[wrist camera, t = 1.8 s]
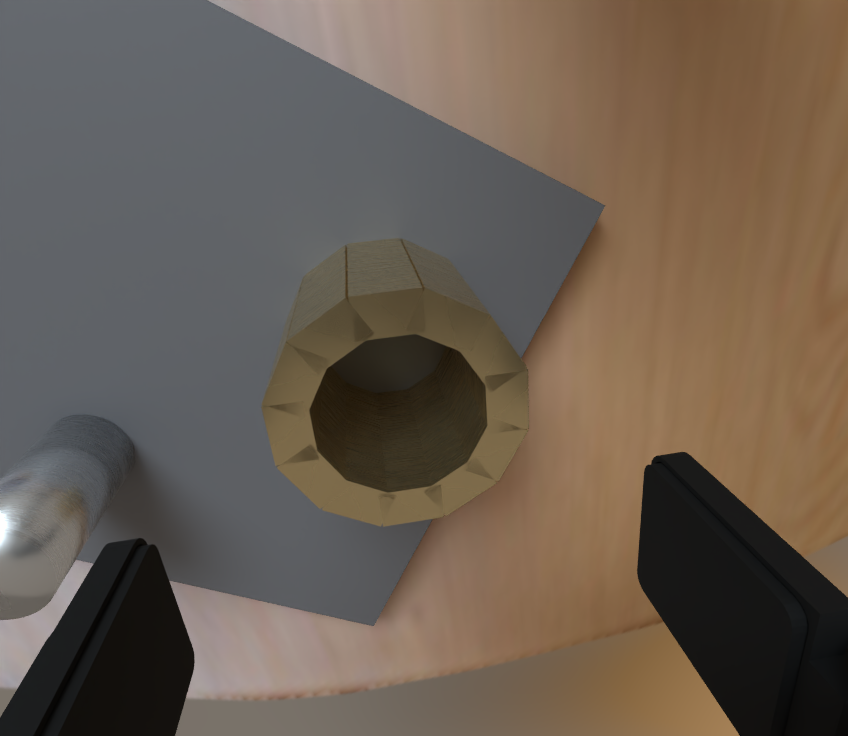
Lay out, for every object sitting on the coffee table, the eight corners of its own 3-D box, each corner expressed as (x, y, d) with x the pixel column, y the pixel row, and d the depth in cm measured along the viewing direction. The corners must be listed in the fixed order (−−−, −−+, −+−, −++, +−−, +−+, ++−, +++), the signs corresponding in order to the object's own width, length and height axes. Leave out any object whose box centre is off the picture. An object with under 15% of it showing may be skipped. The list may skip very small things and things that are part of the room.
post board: (39, -82, 15) (-216, -251, 8) (587, 199, 20) (713, 240, 13) (-62, 496, 21) (-253, 672, 15) (372, 599, 26) (381, 766, 20)
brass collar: (330, 206, 17) (323, 245, 12) (510, 285, 19) (574, 350, 14) (262, 383, 20) (230, 484, 14) (430, 439, 21) (459, 548, 16)
